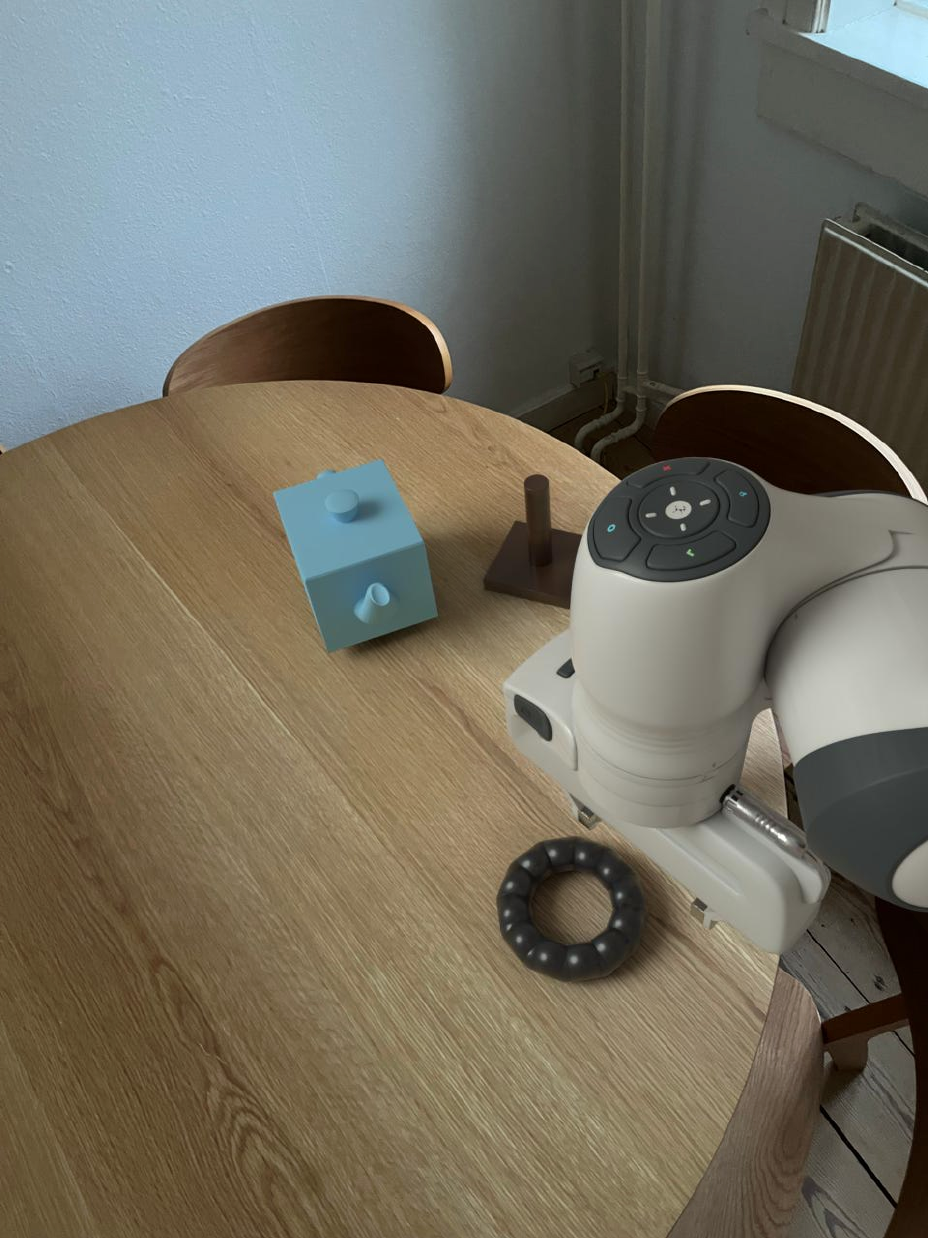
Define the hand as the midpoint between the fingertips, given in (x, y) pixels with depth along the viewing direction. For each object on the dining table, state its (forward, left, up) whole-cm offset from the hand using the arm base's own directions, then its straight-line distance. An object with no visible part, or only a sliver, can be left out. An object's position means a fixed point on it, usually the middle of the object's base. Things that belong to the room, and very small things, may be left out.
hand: (646, 864), depth 60 cm
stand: (+21, -36, -15) cm, 44 cm away
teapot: (+35, -25, -15) cm, 45 cm away
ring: (+6, -2, -14) cm, 15 cm away
